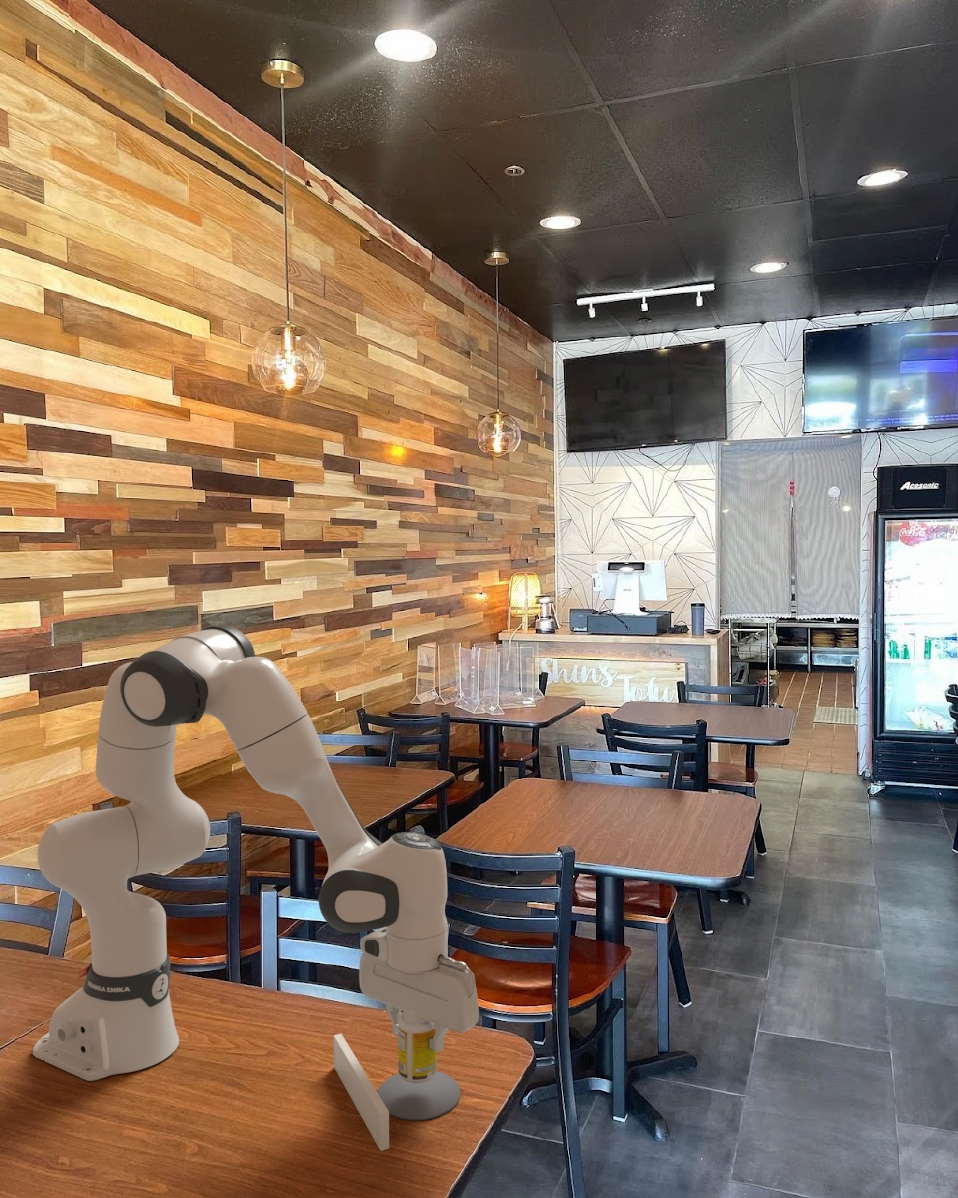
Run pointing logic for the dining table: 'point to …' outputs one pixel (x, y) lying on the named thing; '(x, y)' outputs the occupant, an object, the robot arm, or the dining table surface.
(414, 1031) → the supplement bottle
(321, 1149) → the dining table surface
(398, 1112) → the rest mat
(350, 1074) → the low wall
